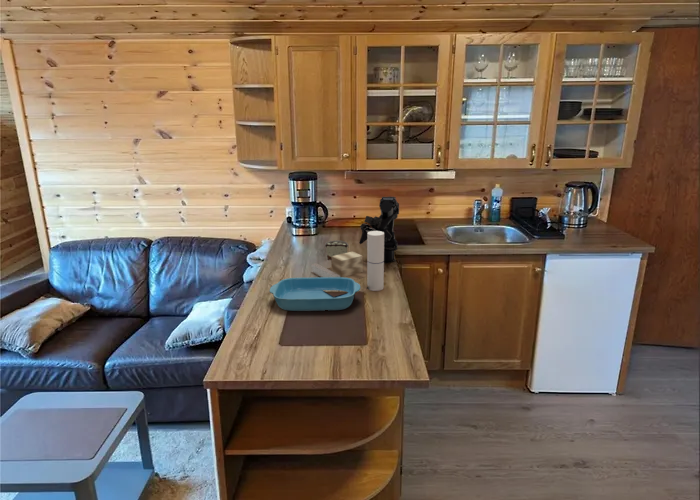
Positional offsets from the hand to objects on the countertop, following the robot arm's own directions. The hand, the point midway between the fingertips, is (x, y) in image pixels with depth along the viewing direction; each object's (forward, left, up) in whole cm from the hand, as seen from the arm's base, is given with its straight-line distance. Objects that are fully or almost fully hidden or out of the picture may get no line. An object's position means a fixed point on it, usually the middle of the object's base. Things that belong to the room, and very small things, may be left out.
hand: (365, 245), depth 224 cm
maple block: (+11, 0, -11) cm, 15 cm away
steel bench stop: (+23, 0, -11) cm, 26 cm away
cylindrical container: (+10, +20, -13) cm, 26 cm away
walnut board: (+10, 0, -13) cm, 16 cm away
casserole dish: (+39, +17, -13) cm, 44 cm away
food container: (+3, -20, -13) cm, 24 cm away
